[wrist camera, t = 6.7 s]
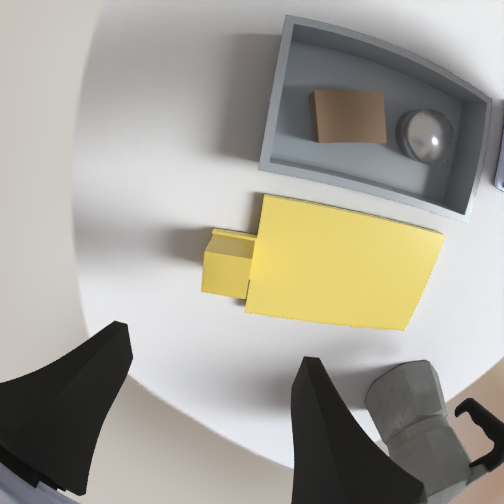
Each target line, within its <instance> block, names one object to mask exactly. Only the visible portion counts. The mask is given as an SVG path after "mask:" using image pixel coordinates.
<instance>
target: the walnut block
mask: <svg viewBox="0 0 504 504" xmlns="http://www.w3.org/2000/svg"><path fill="white" fill-rule="evenodd" d="M309 101H310V111H311V122H312V133H313V142H317V143H386V124H385V110H384V99H383V93H381V92H368V91H348V90H314V91H313V92H312V93H311V94H310V95H309Z"/></svg>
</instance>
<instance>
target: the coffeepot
mask: <svg viewBox="0 0 504 504" xmlns="http://www.w3.org/2000/svg"><path fill="white" fill-rule="evenodd" d="M364 403H365V405H366V407H367V409H368V411H369V413H370V415H371V418H372V420H373V422H374V424H375V426H376V428H377V430H378V432H379V434H380V436H381V439H382V441H383V442H384V443H385V444H386V445H387V447H388V450H389V455H390V456H389V458H390V459H391V460H392V461H394V462H395V463H396V464H397V465H399V466H400V467H401V468H402V469H403V470H405V471H406V472H408V473H409V474H411V475H412V476H414V477H415V478H417V479H418V480H420V481H421V482H423V483H424V486H425V490H426V494H427V499H428V503H427V504H447V503H448V502H450V501H451V500H453V499H454V498H455V497H457V496H458V495H459V494H460V493H461V492H462V491H464V490H465V489H466V488H468V487H469V486H470V485H471V484H472V483H473V482H474V481H476V480H478V479H480V478H481V477H483V476H484V475H486V474H487V473H489V472H491V471H493V470H494V469H496V468H497V467H498V466H500V465H501V464H502V463H503V462H504V423H503V422H501V421H500V420H498V419H497V418H496V417H495V416H494V415H493V414H492V413H490V412H489V411H488V410H486V409H485V408H484V407H483V406H482V405H480V404H479V403H478V402H477V401H475V400H474V399H473V398H467V399H466V400H464V401H463V402H462V403H461V404H460V405H458V406H457V407H456V409H455V416H456V417H458V416H459V415H460V414H462V413H464V412H466V411H467V412H468V413H469V414H470V416H471V418H472V420H473V422H474V423H475V424H477V425H479V426H480V427H481V428H482V429H483V431H484V432H485V434H486V435H487V437H488V438H489V439H491V440H492V441H494V448H493V450H492V451H491V452H490V453H488V454H487V455H485V456H483V457H481V458H479V459H477V460H476V461H474V462H472V461H471V459H470V457H469V455H468V453H467V452H466V450H465V448H464V446H463V445H462V443H461V441H460V440H459V438H458V436H457V435H456V433H455V432H454V430H453V429H452V427H450V426H449V424H448V421H447V419H446V418H447V416H448V415H447V411H446V406H445V401H444V397H443V393H442V389H441V385H440V381H439V377H438V374H437V372H436V371H435V369H434V368H433V366H432V365H431V363H430V362H429V361H414V362H409V363H405V364H402V365H400V366H398V367H395V368H393V369H392V370H390V371H388V372H386V373H385V374H384V375H382V376H381V377H380V378H379V379H377V380H376V381H375V382H374V383H373V384H372V386H371V387H370V389H369V390H368V393H367V397H366V400H365V402H364Z"/></svg>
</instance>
